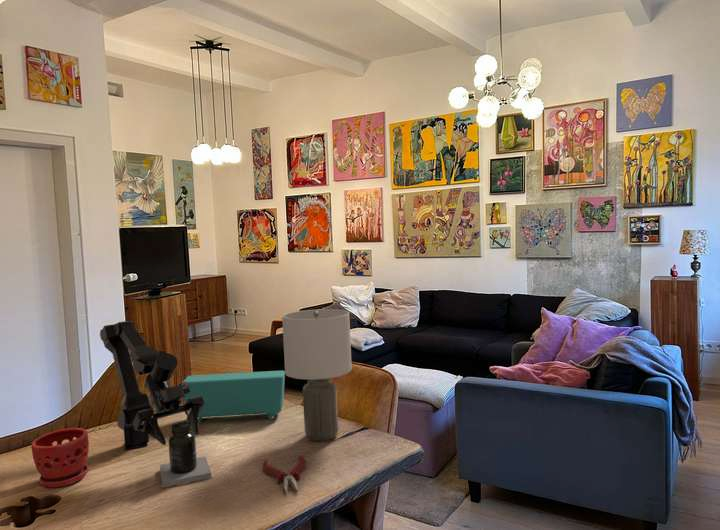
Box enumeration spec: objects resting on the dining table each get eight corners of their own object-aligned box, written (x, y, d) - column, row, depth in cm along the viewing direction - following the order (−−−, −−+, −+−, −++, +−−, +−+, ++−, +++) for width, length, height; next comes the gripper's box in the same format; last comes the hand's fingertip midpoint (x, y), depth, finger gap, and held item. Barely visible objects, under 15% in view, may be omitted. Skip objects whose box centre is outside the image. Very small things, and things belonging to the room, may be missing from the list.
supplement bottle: (201, 468, 146) (198, 424, 145) (176, 476, 141) (173, 431, 141) (190, 461, 151) (187, 418, 150) (166, 469, 146) (163, 425, 146)
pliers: (268, 501, 130) (267, 490, 130) (262, 467, 150) (261, 458, 150) (316, 493, 133) (315, 483, 133) (304, 461, 152) (303, 452, 152)
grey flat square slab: (162, 488, 138) (162, 482, 138) (160, 470, 150) (160, 464, 149) (211, 478, 143) (211, 472, 143) (205, 461, 154) (205, 456, 154)
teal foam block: (287, 410, 197) (285, 369, 196) (284, 420, 186) (282, 376, 186) (191, 416, 195) (188, 374, 194) (183, 426, 185) (180, 382, 184)
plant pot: (53, 470, 153) (50, 428, 152) (100, 469, 152) (97, 426, 152) (23, 492, 140) (19, 446, 139) (74, 491, 139) (70, 444, 139)
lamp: (367, 437, 167) (362, 310, 164) (308, 455, 155) (302, 318, 153) (332, 420, 183) (327, 305, 181) (277, 435, 172) (270, 312, 170)
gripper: (134, 381, 143) (155, 433, 135) (200, 367, 156) (222, 413, 148) (124, 405, 149) (144, 456, 142) (188, 389, 162) (209, 435, 155)
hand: (181, 439), depth 146 cm, fingers open, 9 cm apart
